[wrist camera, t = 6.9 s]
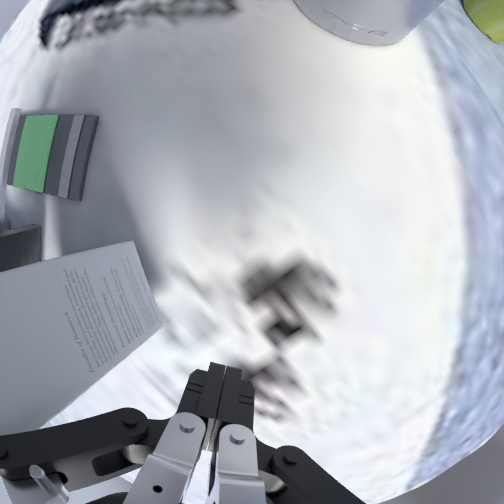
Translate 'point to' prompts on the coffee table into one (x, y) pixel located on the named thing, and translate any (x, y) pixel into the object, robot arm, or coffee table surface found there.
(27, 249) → the grey l-shaped bracket
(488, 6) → the plant pot
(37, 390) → the skincare box
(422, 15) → the robot arm
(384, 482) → the coffee table surface
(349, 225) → the coffee table surface
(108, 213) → the coffee table surface
